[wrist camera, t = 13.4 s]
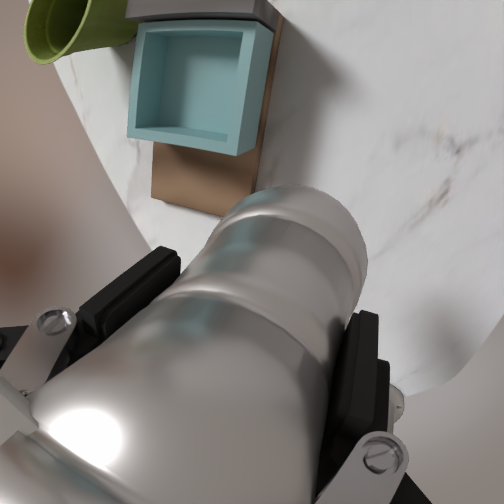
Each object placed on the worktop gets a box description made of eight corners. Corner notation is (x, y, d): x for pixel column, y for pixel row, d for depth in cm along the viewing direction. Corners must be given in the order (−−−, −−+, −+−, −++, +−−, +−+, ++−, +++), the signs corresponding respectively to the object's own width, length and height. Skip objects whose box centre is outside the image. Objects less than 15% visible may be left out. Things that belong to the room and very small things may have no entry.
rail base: (250, 218, 35) (218, 251, 28) (158, 193, 38) (113, 218, 31) (283, 16, 25) (256, -10, 17) (176, 14, 27) (128, -1, 20)
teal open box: (255, 147, 30) (236, 156, 26) (155, 130, 33) (126, 137, 28) (273, 33, 24) (257, 21, 20) (167, 29, 27) (138, 23, 23)
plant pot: (148, -38, 24) (83, -62, 15) (174, 32, 28) (104, 18, 19) (83, 12, 29) (18, 7, 20) (102, 79, 33) (32, 85, 24)
